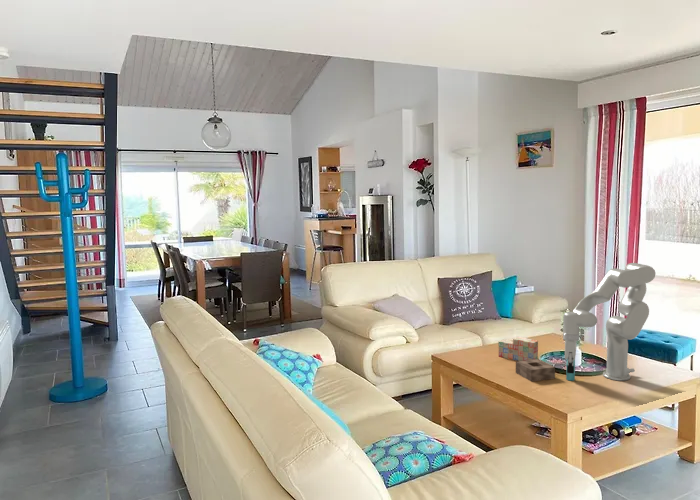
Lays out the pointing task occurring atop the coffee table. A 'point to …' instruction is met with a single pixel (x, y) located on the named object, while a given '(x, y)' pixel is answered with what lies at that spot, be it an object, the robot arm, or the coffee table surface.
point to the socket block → (535, 370)
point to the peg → (570, 375)
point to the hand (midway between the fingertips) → (570, 371)
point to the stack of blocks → (519, 349)
